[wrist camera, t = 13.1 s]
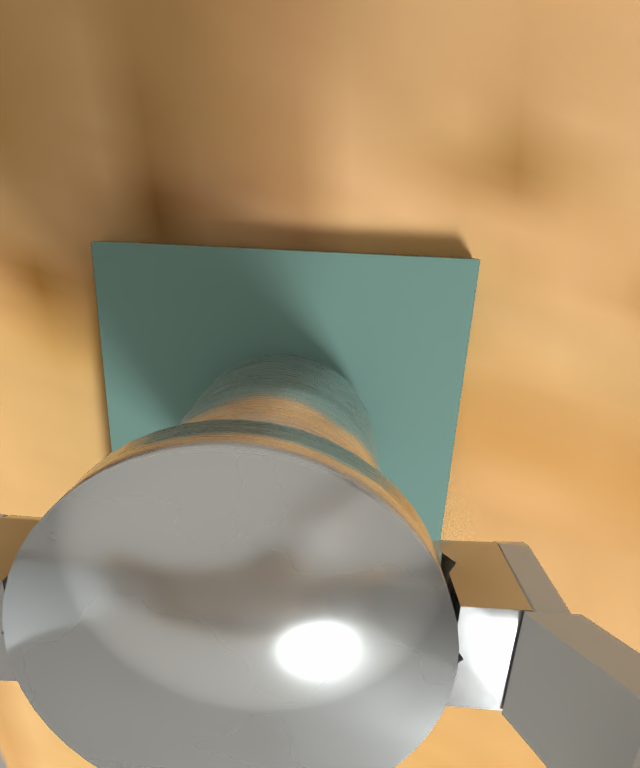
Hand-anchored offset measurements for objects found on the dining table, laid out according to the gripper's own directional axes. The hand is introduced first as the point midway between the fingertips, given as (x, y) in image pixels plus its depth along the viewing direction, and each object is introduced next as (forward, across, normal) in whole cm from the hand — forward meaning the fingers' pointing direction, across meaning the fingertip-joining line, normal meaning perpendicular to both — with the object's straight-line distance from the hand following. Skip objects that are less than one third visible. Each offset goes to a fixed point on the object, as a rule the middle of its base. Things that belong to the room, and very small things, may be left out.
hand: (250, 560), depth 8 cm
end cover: (+5, 0, 0) cm, 5 cm away
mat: (+6, 0, 0) cm, 6 cm away
